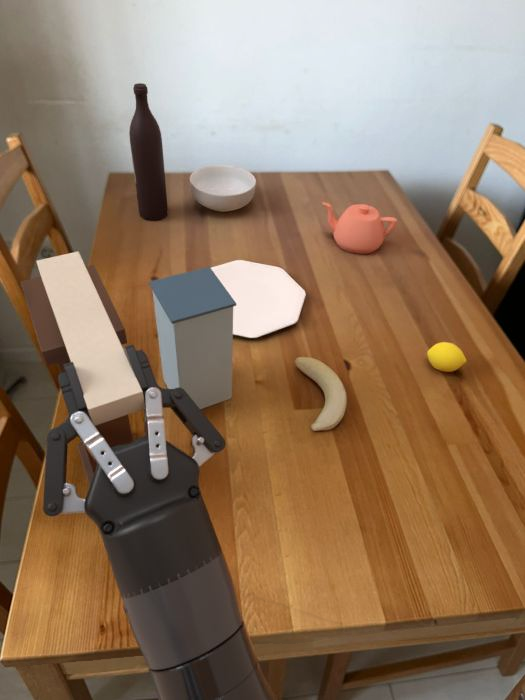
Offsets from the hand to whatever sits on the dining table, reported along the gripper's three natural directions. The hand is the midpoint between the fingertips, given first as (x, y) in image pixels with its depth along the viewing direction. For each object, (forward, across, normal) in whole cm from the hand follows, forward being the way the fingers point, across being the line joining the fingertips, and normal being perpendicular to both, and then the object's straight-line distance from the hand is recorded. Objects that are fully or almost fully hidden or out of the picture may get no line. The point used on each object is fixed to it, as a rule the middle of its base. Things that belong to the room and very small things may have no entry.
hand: (99, 357), depth 40 cm
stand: (-6, 0, +41) cm, 41 cm away
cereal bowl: (+51, -47, +74) cm, 102 cm away
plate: (+19, -35, +55) cm, 68 cm away
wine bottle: (+53, -29, +75) cm, 96 cm away
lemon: (-9, -60, +39) cm, 72 cm away
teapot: (+27, -69, +60) cm, 95 cm away
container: (+3, -17, +46) cm, 49 cm away
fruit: (-6, -35, +41) cm, 54 cm away
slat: (+4, 0, +5) cm, 6 cm away
